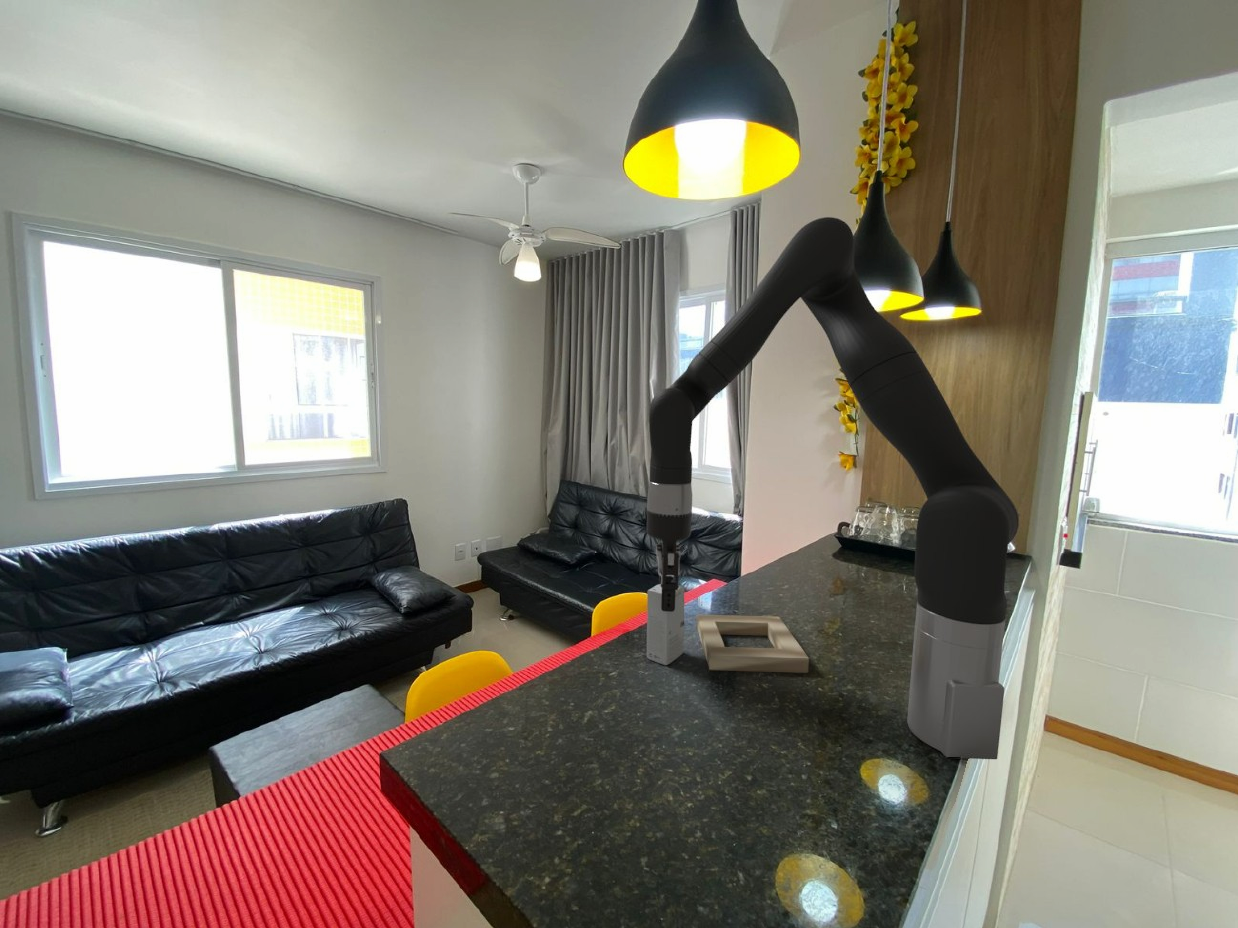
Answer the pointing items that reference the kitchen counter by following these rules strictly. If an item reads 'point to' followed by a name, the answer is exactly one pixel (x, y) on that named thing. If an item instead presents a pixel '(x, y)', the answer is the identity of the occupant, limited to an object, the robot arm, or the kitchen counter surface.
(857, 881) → the kitchen counter surface
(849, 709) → the kitchen counter surface
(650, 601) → the skincare box
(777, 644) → the socket block
